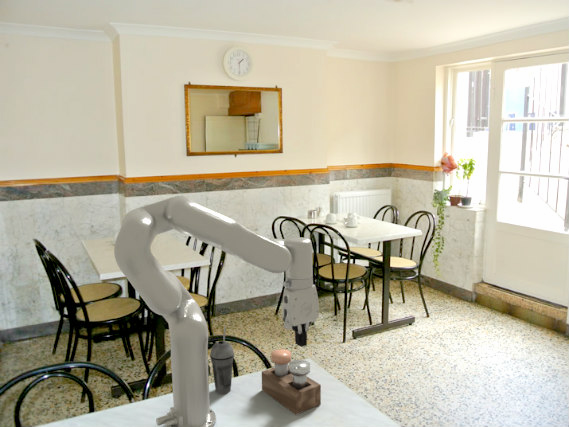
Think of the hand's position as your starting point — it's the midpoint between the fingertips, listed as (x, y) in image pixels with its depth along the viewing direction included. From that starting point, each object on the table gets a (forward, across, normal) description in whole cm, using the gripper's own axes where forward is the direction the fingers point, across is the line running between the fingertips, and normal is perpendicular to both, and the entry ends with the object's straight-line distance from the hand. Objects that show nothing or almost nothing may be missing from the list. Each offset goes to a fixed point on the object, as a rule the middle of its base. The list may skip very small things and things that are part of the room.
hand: (301, 344), depth 140 cm
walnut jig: (+18, -1, +5) cm, 18 cm away
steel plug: (+13, -1, 0) cm, 13 cm away
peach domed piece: (+13, -1, +9) cm, 16 cm away
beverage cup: (+18, -15, +20) cm, 31 cm away
